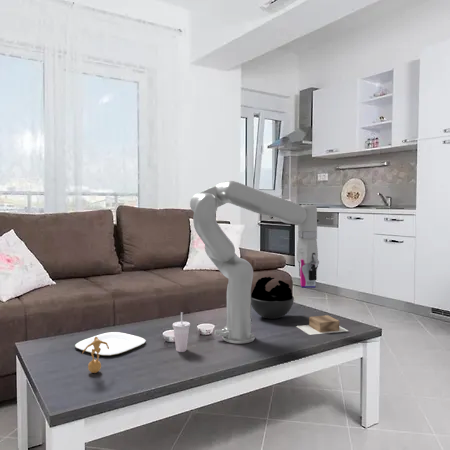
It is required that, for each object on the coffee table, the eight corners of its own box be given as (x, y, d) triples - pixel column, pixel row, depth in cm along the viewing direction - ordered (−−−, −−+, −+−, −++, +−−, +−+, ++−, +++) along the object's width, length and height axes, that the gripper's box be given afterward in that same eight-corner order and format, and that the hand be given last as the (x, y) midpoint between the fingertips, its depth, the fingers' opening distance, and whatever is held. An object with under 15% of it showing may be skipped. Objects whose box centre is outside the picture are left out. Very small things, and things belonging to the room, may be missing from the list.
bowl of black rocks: (247, 312, 211) (247, 273, 209) (288, 312, 212) (289, 273, 211) (252, 324, 191) (252, 282, 189) (297, 324, 192) (298, 281, 191)
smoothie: (173, 353, 155) (173, 314, 154) (171, 347, 161) (171, 310, 161) (191, 352, 157) (191, 313, 156) (188, 346, 163) (188, 309, 162)
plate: (109, 362, 149) (109, 357, 148) (67, 349, 160) (67, 344, 160) (152, 343, 167) (152, 339, 167) (112, 333, 178) (112, 329, 178)
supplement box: (314, 284, 183) (314, 257, 182) (315, 287, 177) (315, 259, 176) (300, 284, 183) (300, 257, 182) (301, 287, 177) (301, 259, 177)
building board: (309, 336, 175) (309, 334, 175) (295, 327, 187) (295, 326, 187) (348, 332, 181) (348, 330, 181) (333, 324, 192) (333, 322, 192)
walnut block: (319, 332, 178) (320, 322, 178) (309, 326, 187) (309, 316, 187) (339, 330, 181) (339, 321, 181) (327, 324, 190) (328, 315, 189)
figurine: (105, 367, 143) (105, 331, 142) (111, 374, 138) (111, 336, 137) (79, 373, 138) (79, 335, 137) (84, 379, 133) (84, 341, 132)
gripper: (289, 233, 186) (290, 275, 187) (309, 237, 169) (309, 283, 170) (305, 232, 188) (305, 273, 189) (326, 236, 171) (327, 281, 173)
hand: (307, 278), depth 180 cm, fingers closed on supplement box, 7 cm apart
